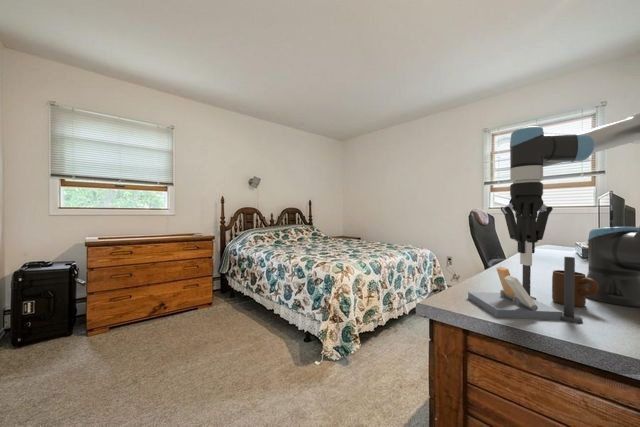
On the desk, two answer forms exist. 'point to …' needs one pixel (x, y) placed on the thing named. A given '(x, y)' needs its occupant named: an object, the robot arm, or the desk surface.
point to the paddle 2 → (521, 293)
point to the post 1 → (527, 279)
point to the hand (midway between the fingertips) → (526, 264)
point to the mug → (579, 288)
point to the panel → (512, 306)
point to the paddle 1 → (507, 289)
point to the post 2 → (569, 291)
